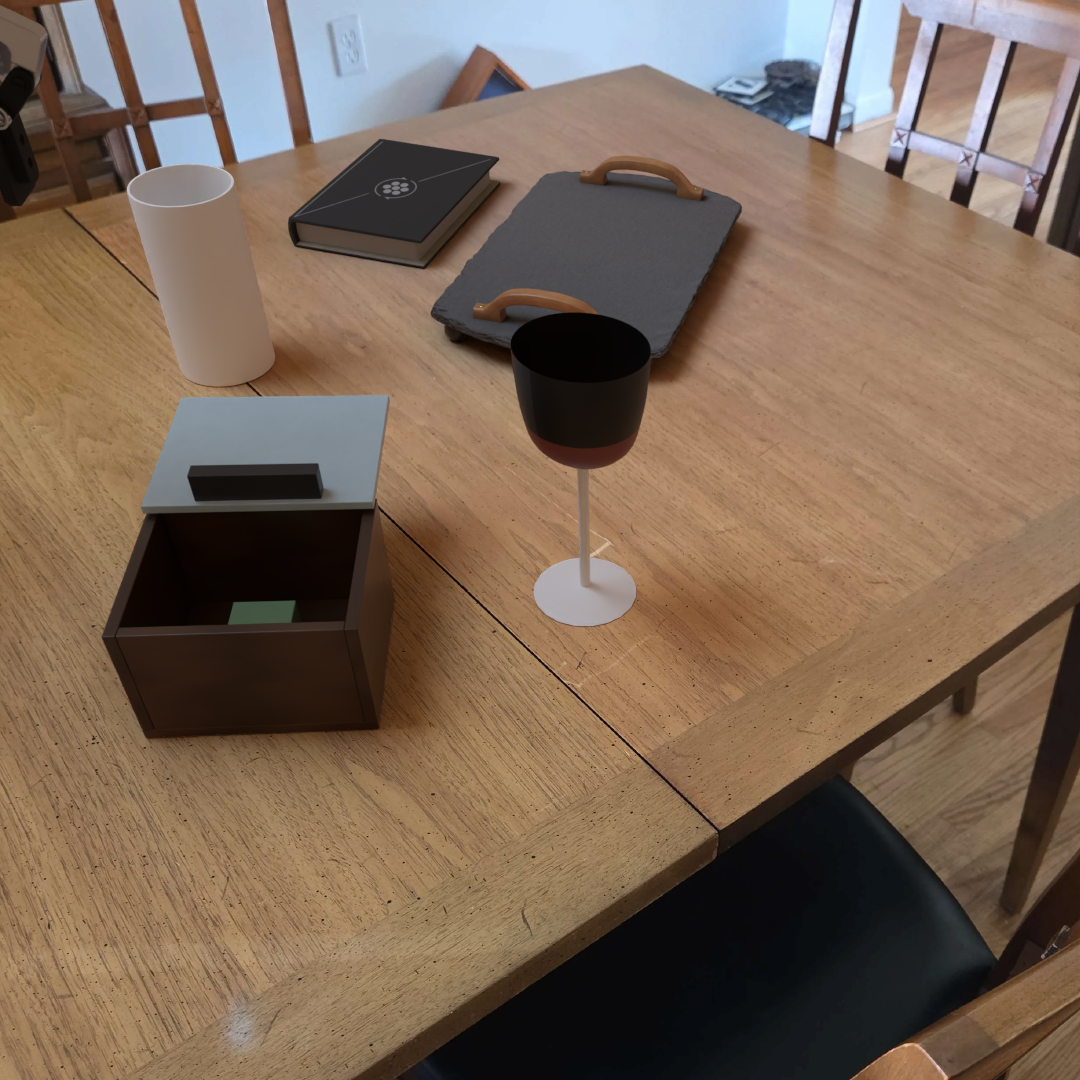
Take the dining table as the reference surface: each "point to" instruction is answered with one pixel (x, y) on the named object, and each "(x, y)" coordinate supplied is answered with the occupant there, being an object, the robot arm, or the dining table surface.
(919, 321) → the dining table surface
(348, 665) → the case
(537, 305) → the serving tray
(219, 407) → the sliding box lid
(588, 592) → the wineglass
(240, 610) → the block
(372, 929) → the dining table surface
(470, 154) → the book
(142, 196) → the cup
